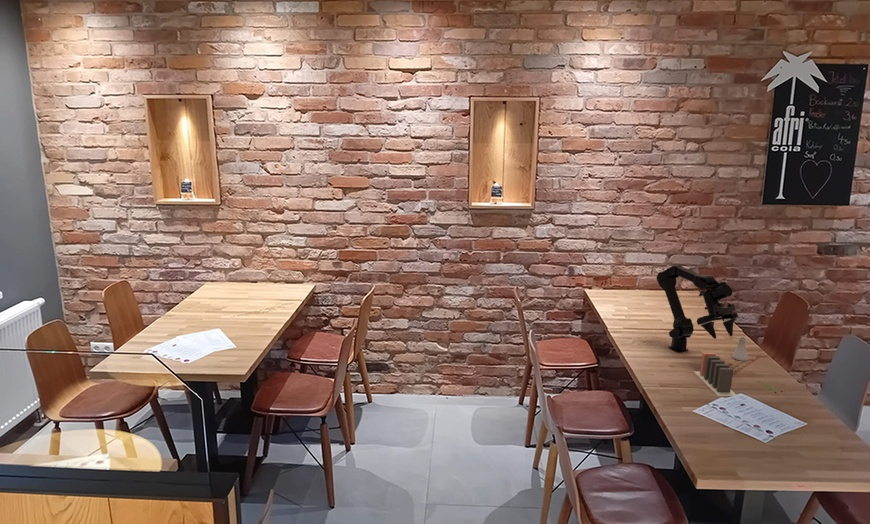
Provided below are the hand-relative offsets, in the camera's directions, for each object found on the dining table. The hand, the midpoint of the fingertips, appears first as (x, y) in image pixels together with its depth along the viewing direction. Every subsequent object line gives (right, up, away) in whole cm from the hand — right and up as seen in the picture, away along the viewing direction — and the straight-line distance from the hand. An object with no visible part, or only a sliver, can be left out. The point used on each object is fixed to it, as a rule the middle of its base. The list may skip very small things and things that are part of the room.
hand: (723, 337), depth 285 cm
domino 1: (-9, -16, -4) cm, 19 cm away
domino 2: (-9, -17, -8) cm, 21 cm away
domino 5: (-9, -20, -19) cm, 29 cm away
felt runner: (-9, -18, -11) cm, 23 cm away
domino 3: (-9, -18, -12) cm, 23 cm away
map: (+12, -21, -17) cm, 30 cm away
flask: (+15, -12, +17) cm, 26 cm away
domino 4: (-9, -19, -15) cm, 26 cm away
